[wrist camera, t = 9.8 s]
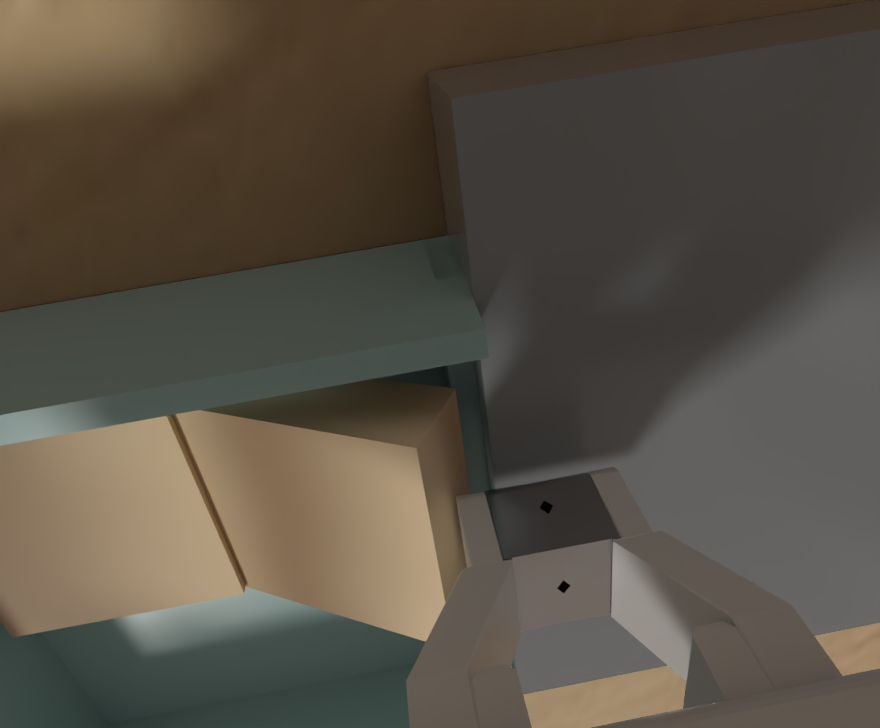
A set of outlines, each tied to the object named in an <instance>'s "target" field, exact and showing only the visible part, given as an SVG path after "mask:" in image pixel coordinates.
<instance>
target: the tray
mask: <svg viewBox="0 0 880 728" xmlns="http://www.w3.org/2000/svg"><path fill="white" fill-rule="evenodd" d="M486 358H489V356H488V346H487V337H486V328H485V326H484V323H483V321H482V319H481V316H480V314H479V311H478V309H477V306H476V304H475V301H474V299H473V296H472V294H471V291H470V289H469V287H468V284H467V282H466V279H465V277H464V274H463V272H462V269H461V267H460V264H459V262H458V259H457V257H456V255H455V252H454V250H453V247H452V245H451V242H450V240H449V237H448V236H442V237H437V238H431V239H425V240H419V241H413V242H407V243H401V244H396V245H390V246H384V247H378V248H372V249H366V250H361V251H355V252H349V253H343V254H337V255H331V256H325V257H320V258H314V259H308V260H302V261H296V262H290V263H285V264H279V265H273V266H267V267H261V268H255V269H250V270H244V271H238V272H232V273H226V274H220V275H214V276H209V277H203V278H197V279H191V280H185V281H179V282H174V283H168V284H162V285H156V286H150V287H144V288H138V289H133V290H127V291H121V292H115V293H109V294H103V295H98V296H92V297H86V298H80V299H74V300H68V301H62V302H57V303H51V304H45V305H39V306H33V307H27V308H22V309H16V310H10V311H4V312H0V446H2V445H7V444H13V443H19V442H24V441H30V440H35V439H41V438H46V437H52V436H57V435H63V434H69V433H74V432H80V431H85V430H91V429H96V428H102V427H108V426H113V425H119V424H124V423H130V422H135V421H141V420H147V419H152V418H158V417H163V416H169V415H174V414H180V413H186V412H191V411H197V410H202V409H208V408H213V407H219V406H225V405H230V404H236V403H241V402H247V401H252V400H258V399H264V398H269V397H275V396H280V395H286V394H291V393H297V392H303V391H308V390H314V389H319V388H325V387H330V386H336V385H342V384H347V383H353V382H358V381H364V380H369V379H375V378H378V379H386V380H393V381H401V382H409V383H416V384H424V385H431V386H439V387H447V388H454V389H456V397H457V404H458V411H459V419H460V426H461V433H462V441H463V448H464V455H465V463H466V470H467V477H468V484H469V492H470V494H473V493H479V492H484V491H487V490H490V489H489V481H488V473H487V464H486V456H485V448H484V439H483V431H482V423H481V414H480V406H479V398H478V389H477V381H476V373H475V364H474V361H475V360H481V359H486ZM424 644H425V641H422V640H419V639H415V638H412V637H409V636H406V635H402V634H399V633H396V632H392V631H389V630H386V629H383V628H379V627H376V626H373V625H370V624H366V623H363V622H360V621H356V620H353V619H350V618H347V617H343V616H340V615H337V614H333V613H330V612H327V611H324V610H320V609H317V608H314V607H310V606H307V605H304V604H301V603H297V602H294V601H291V600H288V599H284V598H281V597H278V596H274V595H271V594H268V593H265V592H261V591H258V590H255V589H251V588H248V587H245V593H244V594H241V595H236V596H230V597H225V598H220V599H215V600H209V601H204V602H199V603H193V604H188V605H183V606H178V607H172V608H167V609H162V610H156V611H151V612H146V613H141V614H135V615H130V616H125V617H119V618H114V619H109V620H103V621H98V622H93V623H88V624H82V625H77V626H72V627H66V628H61V629H56V630H51V631H45V632H40V633H35V634H29V635H24V636H19V637H12V636H11V635H10V633H9V632H8V631H7V630H6V628H5V627H4V626H3V624H2V623H1V622H0V728H410V725H409V713H408V700H407V687H406V680H407V678H408V676H409V674H410V672H411V670H412V668H413V666H414V664H415V662H416V660H417V658H418V656H419V654H420V652H421V650H422V648H423V646H424Z"/></svg>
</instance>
